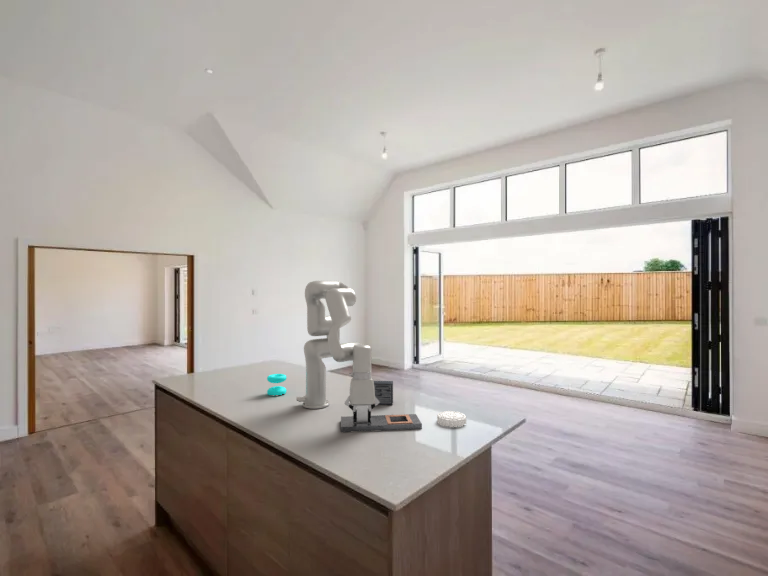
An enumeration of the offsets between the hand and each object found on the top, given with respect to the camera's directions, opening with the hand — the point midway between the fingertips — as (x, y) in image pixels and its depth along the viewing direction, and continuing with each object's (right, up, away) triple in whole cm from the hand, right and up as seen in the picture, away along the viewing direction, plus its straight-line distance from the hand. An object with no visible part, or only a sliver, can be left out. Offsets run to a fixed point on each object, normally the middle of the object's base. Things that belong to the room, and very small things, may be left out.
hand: (362, 419), depth 154 cm
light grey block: (0, -2, 0) cm, 2 cm away
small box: (+8, -3, +31) cm, 32 cm away
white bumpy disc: (+37, -3, +4) cm, 38 cm away
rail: (+7, -2, +1) cm, 8 cm away
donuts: (-48, -3, +47) cm, 67 cm away
